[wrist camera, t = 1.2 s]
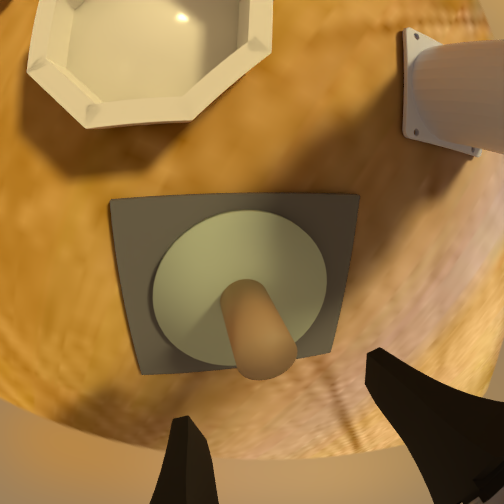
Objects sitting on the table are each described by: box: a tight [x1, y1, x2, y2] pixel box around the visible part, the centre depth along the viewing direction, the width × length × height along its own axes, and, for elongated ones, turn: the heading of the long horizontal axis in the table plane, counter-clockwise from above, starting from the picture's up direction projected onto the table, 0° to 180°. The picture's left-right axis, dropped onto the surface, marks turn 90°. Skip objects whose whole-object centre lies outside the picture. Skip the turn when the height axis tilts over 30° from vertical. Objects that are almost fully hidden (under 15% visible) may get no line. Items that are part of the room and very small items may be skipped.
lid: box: [153, 209, 327, 380], centre depth 15 cm, size 10×10×6 cm
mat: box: [110, 193, 360, 375], centre depth 18 cm, size 14×12×1 cm
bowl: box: [27, 0, 273, 129], centre depth 10 cm, size 11×11×3 cm
